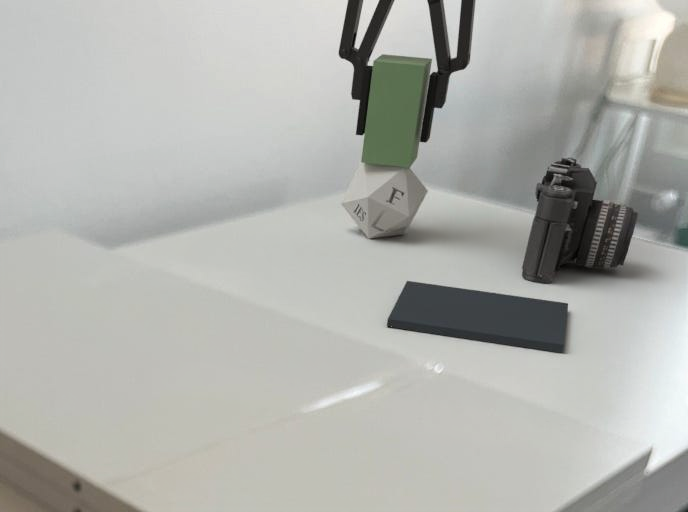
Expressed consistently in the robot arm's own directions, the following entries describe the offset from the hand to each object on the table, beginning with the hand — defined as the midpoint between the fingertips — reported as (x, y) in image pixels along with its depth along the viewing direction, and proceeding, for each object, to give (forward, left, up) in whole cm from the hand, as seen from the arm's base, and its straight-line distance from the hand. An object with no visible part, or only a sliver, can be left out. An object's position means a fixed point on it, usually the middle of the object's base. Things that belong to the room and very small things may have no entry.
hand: (392, 136), depth 115 cm
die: (0, 0, -11) cm, 11 cm away
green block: (0, 0, -2) cm, 2 cm away
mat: (-14, +25, -10) cm, 31 cm away
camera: (-22, +4, -11) cm, 25 cm away
